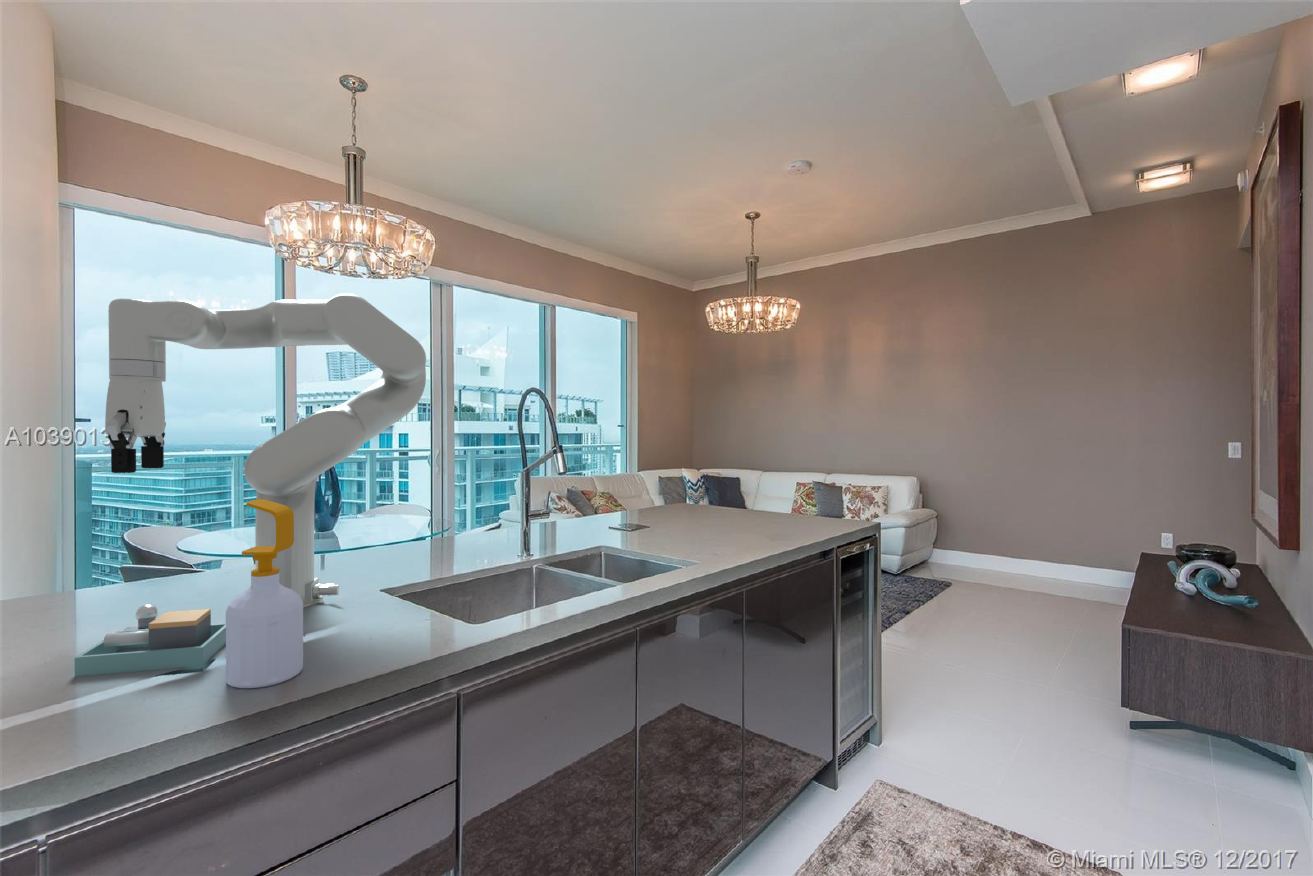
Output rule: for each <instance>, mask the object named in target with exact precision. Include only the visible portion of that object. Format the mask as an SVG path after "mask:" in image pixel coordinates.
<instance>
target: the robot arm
mask: <svg viewBox="0 0 1313 876" xmlns="http://www.w3.org/2000/svg"><path fill="white" fill-rule="evenodd" d="M166 342H172V343H177V344H180V345H185V346H188V347H191V348H195V349H199V350H232V349H234V350H235V349H236V350H237V349H239V350H240V349H241V350H243V349H257V348H258V349H259V348H281V347H299V346H300V347H304V346H338V345H339V346H342V345H343V346H345V345H346V346H347V345H348V346H349V347H350V348H352V349H353V350H354V351H356V352H357V353H358V354H359V355H361V356H362V357H363V358H365V359H366V360H367V361H369V362H370V363H372V364H373V365H374V366H376V367H377V368H378V369H380V371H382V374H381V376H380V379H379V380H378V381H377V382H375V383H374V384H371V386H368V387H367V388H365V389H364V390H362V391H361V392H359V393H358V394H356V395H354V396H352V397H351V398H349V399H348V400H346V401H344V402H342V403H340V404H339V405H337V406H334V407H328V408H323V409H321V410H317V411H316V412H314V413H312V414H311V415H309V416H307V417H305V418H304V419H302V420H300V421H299V422H297V423H295V424H294V425H292V426H290V427H289V428H286V429H285V430H283V431H282V432H280V433H279V434H277V435H275V436H273V437H272V438H269V439H268V440H267V441H265V442H263V443H262V444H260V445H259V446H257V447H256V448H255V449H253V450H252V451H251V452H250V453H249V454H248V456H247V458H246V459H245V463H244V468H243V471H244V472H243V473H244V478H245V480H246V481H247V484H248V485H249V486H250V488H252V489H253V490H255V491H256V497H255V498H256V499H255V500H257V499H265V500H269V501H272V502H275V503H279V504H282V505H285V506H288V507H289V508H291V510H292V511H293V514H294V542H293V545H292V546H291V547H290V548H288V549H285V550H283V551H280V552H278V553H277V558H275V559H272V567H277V568H279V583H280V584H281V585H282V586H284V587H286V588H289V589H292V590H293V591H295V592H296V593H298V594H299V595H300V597H301V600H302V602H303V608H307V607H310V606H313V605H315V604H318V603H321V604H323V602H324V596H329V597H331V596H338V595H339V594H340V585H339V584H335V583H333V582H332V583H326V584H322V582H319V577H318V576H317V577H315V499H316V498H315V497H316V496H315V495H316V483H317V482H316V479H317V477H318V476H320V475H321V474H323V473H325V472H326V471H328V470H330V469H331V468H333V467H335V466H336V465H338V464H339V463H340V462H342V461H345V459H347V458H348V457H350V456H352V455H353V454H354V453H356V452H357V451H358V450H359V449H360V448H361V447H362V446H363V445H365V444H366V443H367V442H369V441H370V440H371V439H373V438H374V437H377V436H378V435H379V434H382V433H383V432H385V430H386V429H388V428H390V427H391V426H393V425H394V424H396V423H398V421H401V420H402V419H403V418H404V417H406V416H407V415H408V414H409V413H410V412H411V411H413V410H414V408H416V407H417V405H418V403H419V402H420V400H421V398H422V397H423V394H424V391H425V388H426V382H427V380H426V379H427V377H426V376H427V371H426V365H427V364H426V363H427V355H426V351H425V349H424V346H423V345H422V344H421V342H419V340H417V339H416V338H415V337H414V336H413V335H411V334H410V333H408V332H407V331H406V330H405V329H403V328H402V327H401V326H399V325H398V324H397V323H396V322H394V320H392V319H390V317H388V316H386V315H385V314H383V313H382V312H381V311H380V310H379V309H378V308H377V307H375V306H373V305H372V304H371V303H370V302H369V301H368V300H366V299H365V298H363V297H361V296H360V295H357V294H354V293H339V294H337V295H335V296H332V297H331V298H329V299H324V300H323V299H297V300H296V299H280V300H279V299H278V300H274V301H271V302H269V303H268V304H264V305H263V306H260V307H255V308H249V309H208V308H206V307H205V306H203V305H200V304H199V303H196V302H193V301H189V300H180V299H179V300H164V301H163V300H162V301H161V300H160V301H151V300H145V299H137V298H116V299H113V300H112V301H110V302H109V304H108V375H109V376H108V377H109V378H108V379H109V382H108V387H107V393H106V403H105V405H106V406H105V418H104V419H105V420H104V421H105V422H104V432H105V434H106V436H107V439H108V440H109V449H110V454H111V455H110V460H111V461H110V463H111V465H110V467H111V468H110V469H111V473H113V474H134V473H136V472H137V448H134V446H135V444H136V442H137V439H138V438H140V439H141V441H142V444H143V445H142V446H141V445H140V455H141V456H140V459H141V461H140V462H141V465H140V467H141V468H142V469H163V468H164V465H165V462H164V461H165V458H164V457H165V452H164V450H165V449H164V448H165V447H164V446H165V440H164V439H165V437H166V433H165V430H166V425H167V423H166V415H165V414H166V411H165V397H164V388H163V383H165V382H166V381H167V380H166V379H167V378H166V377H167V372H166V371H167V369H166V368H167V366H166V361H167V360H166V359H167V358H166V356H167V355H166V353H167V351H166V348H167V347H166V344H167V343H166ZM254 530H255V533H254V534H255V535H254V536H255V538H254V539H255V541H254V543H255V544H254V545H255V546H254V547H257V546H276V521H275V518H274V516H273V515H272V514H271V513H269V512H265V511H262V510H259V509H256V508H255V529H254ZM254 562H255V565H254V566H255V569H258V561H256V560H254Z"/></svg>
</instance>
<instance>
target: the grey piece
mask: <svg viewBox="0 0 1313 876" xmlns="http://www.w3.org/2000/svg"><path fill="white" fill-rule="evenodd" d="M158 615H159V609H158V608H157V606H155V605H153V604H149V603H148V604H143V605H142V606H140V607H139V608H138V609H137V610H136V611H135V619H136V620H137V626H128V627H126V628H124V629H123V630H122V631H126V630H140V629H149V623H151V622H152V621H154V620H155V619H157V618H158Z"/></svg>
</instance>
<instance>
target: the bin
mask: <svg viewBox="0 0 1313 876" xmlns="http://www.w3.org/2000/svg"><path fill="white" fill-rule="evenodd" d="M148 630H149V629H140V630H126V631H123V630H117V631H116V632H114V633H122V632H135V631H148ZM224 646H226V622H225V623H224V622H223V623H211V637H210V638H209V639H208V640H207V641H206V642H205V643H203V644H202V645H201V646H198V647H185V648H173V649H160V650H149V649H148V650H137V651H125V652H117V651H119V650H123V649H124V650H125V649H134V648H149V643H147V644H135V645H122V646H110V647H105V646H104V639H103V640H100V641H99V642H98V643H96V644H95V645H93V646H91V647H90V648H87V649H86V650H85V651H83V652H81V653H80V654H78V655H77V656H75V657H74V659H73V660H74V677H82V676H83V677H84V676H93V675H106V674H118V673H128V672H129V673H130V672H138V671H139V672H140V671H142V672H143V671H151V670H153V671H154V670H164V669H165V670H166V669H174V668H178V669H175V670H172V671H168V672H164V673H161V674H158V675H156V677H162V676H170V675H171V676H172V675H173V676H174V675H183V674H192V673H194V674H195V673H202V672H205V671H206V670H207V668H209V667H210V666H211V665H212V664H213V663H214V662H215V661H216V660H217V658H214V659H211V658H212V657H213V656H215V654H217V652H218V651H220V650H221V649H222V648H223V647H224ZM210 659H211V660H210Z"/></svg>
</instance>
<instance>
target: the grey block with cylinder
mask: <svg viewBox="0 0 1313 876" xmlns="http://www.w3.org/2000/svg"><path fill="white" fill-rule="evenodd" d="M211 610H212V609H211V608H203V609H201V608H200V609H189V610H175V611H172V610H171V611H166V612H164V613H162V614H161V615H160V616H159V617H158V616H157V617H156V619H155V620H154V621H152V622H151V623H149V630H148V631H135V632H122V633H115V632H111V633H106V634H105V636H104V639H103V640H104V646H105V647H110V646H122V645H135V644H147V643H149V647H148V650H160V649H173V648H185V647H198V646H201V645H202V644H203V643H205V642H206V641H207V640H208V639H209V638H210V637H211V624H212V621H211V620H212V619H211V618H212V617H211V615H212V613H211V612H212V611H211Z"/></svg>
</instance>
